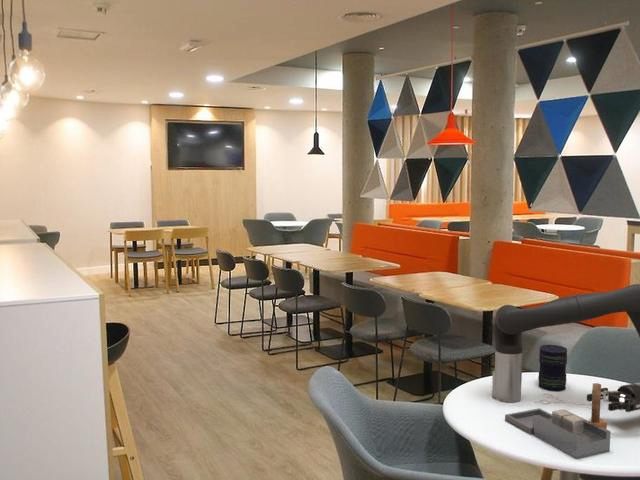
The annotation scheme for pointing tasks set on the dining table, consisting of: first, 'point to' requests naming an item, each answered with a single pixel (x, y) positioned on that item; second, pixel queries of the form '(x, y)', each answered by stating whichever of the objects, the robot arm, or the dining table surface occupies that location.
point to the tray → (526, 419)
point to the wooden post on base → (597, 406)
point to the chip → (573, 424)
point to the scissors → (559, 401)
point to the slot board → (573, 437)
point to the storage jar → (552, 368)
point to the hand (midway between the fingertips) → (598, 402)
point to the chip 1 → (559, 417)
